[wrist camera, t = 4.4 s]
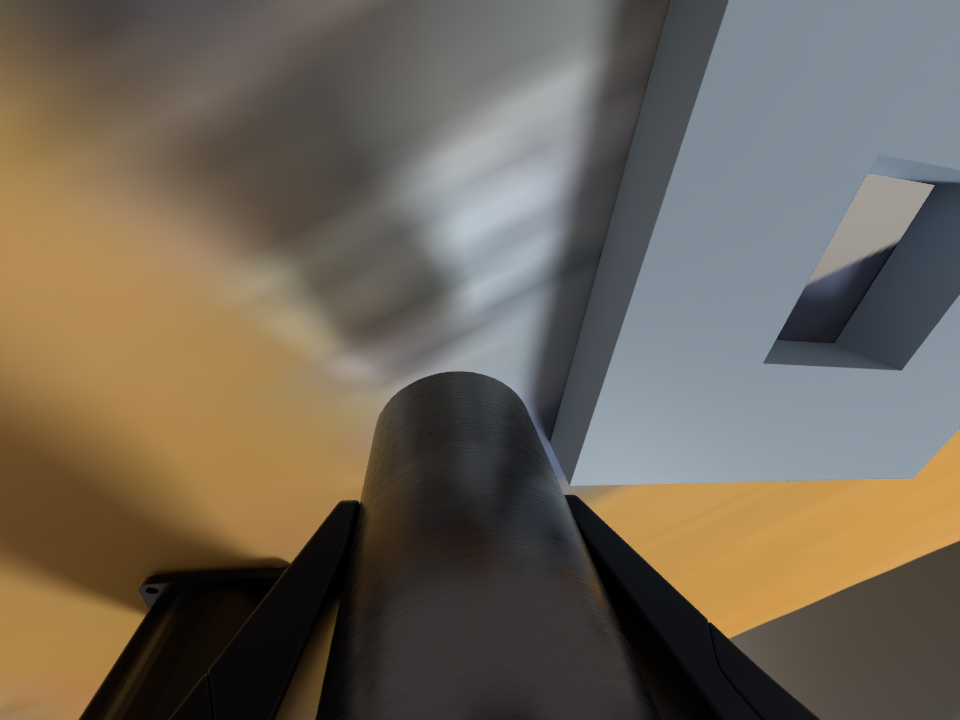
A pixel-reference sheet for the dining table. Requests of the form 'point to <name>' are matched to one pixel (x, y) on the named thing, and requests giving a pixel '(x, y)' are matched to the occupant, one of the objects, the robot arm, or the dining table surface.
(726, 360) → the mount block
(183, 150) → the dining table surface
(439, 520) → the lens
